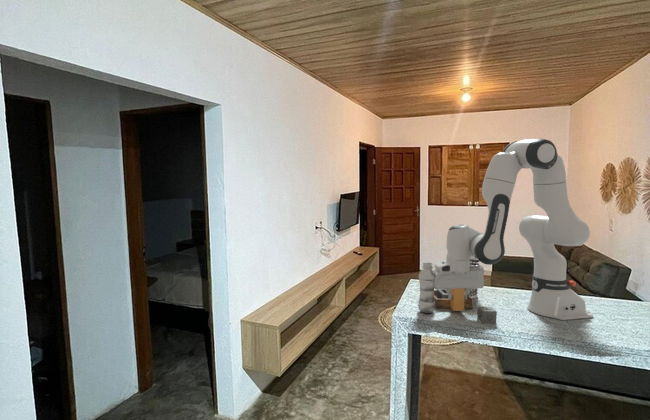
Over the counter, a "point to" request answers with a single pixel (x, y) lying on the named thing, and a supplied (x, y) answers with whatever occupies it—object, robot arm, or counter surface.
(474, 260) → the decorative candle
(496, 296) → the counter surface
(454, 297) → the block
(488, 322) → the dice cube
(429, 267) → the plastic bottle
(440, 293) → the walled box
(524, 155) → the robot arm
